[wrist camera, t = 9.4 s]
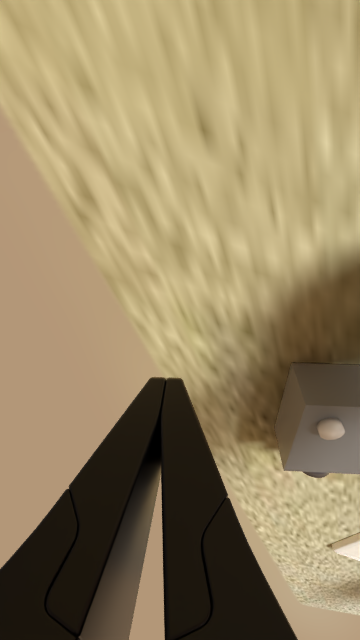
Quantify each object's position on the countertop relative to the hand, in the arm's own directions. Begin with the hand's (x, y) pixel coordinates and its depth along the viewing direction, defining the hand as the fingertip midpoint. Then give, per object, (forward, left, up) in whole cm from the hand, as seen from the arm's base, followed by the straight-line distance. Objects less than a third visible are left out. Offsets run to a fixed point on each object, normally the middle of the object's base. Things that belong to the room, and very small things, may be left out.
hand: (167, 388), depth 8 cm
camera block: (-13, +14, -12) cm, 23 cm away
